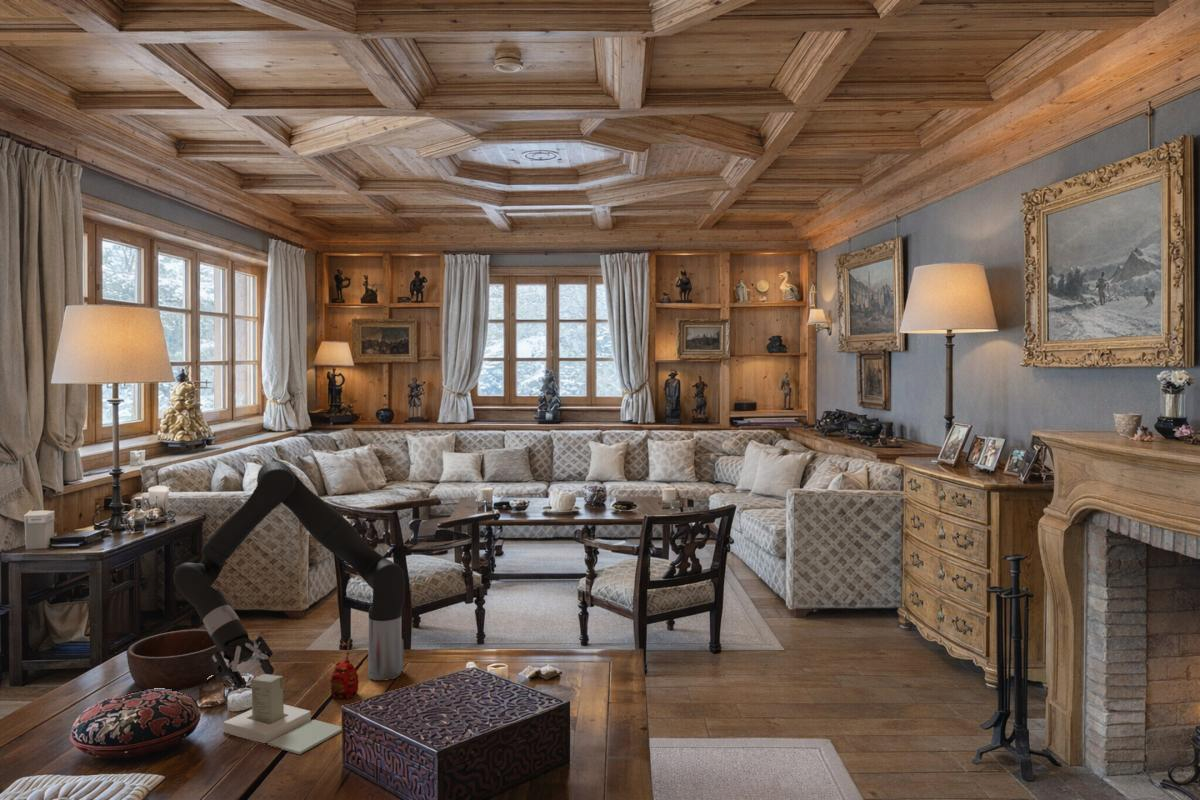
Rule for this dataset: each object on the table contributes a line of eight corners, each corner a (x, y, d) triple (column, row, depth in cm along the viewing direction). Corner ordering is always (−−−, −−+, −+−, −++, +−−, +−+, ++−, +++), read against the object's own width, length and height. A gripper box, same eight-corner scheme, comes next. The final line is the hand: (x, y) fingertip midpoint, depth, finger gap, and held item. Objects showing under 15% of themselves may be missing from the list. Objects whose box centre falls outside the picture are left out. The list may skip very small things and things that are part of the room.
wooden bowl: (157, 703, 202) (157, 664, 202) (108, 683, 215) (108, 646, 215) (244, 673, 224) (244, 638, 223) (195, 657, 237) (195, 623, 237)
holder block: (270, 710, 199) (270, 700, 198) (310, 721, 193) (310, 711, 193) (223, 732, 186) (223, 722, 186) (264, 744, 180) (264, 733, 180)
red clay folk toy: (324, 698, 206) (325, 643, 206) (340, 688, 213) (340, 635, 213) (349, 702, 204) (349, 646, 204) (364, 692, 211) (364, 637, 211)
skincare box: (284, 725, 190) (284, 676, 190) (271, 732, 186) (272, 682, 186) (263, 721, 192) (264, 672, 192) (250, 728, 188) (250, 678, 188)
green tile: (313, 721, 192) (313, 719, 192) (344, 729, 188) (344, 727, 188) (268, 745, 179) (268, 742, 179) (299, 754, 175) (299, 751, 175)
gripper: (207, 626, 188) (240, 681, 183) (255, 611, 201) (287, 662, 196) (192, 645, 190) (224, 699, 185) (241, 628, 203) (272, 679, 198)
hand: (257, 680), depth 191 cm, fingers open, 8 cm apart
